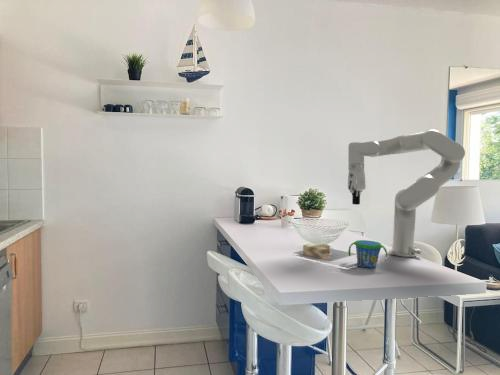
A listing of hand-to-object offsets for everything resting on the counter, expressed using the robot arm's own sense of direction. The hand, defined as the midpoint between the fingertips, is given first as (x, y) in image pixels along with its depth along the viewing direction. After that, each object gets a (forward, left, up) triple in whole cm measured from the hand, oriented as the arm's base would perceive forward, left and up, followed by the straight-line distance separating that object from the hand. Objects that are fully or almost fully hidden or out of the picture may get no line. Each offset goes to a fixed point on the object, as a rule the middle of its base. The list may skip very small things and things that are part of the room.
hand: (356, 204), depth 200 cm
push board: (+2, +22, -23) cm, 32 cm away
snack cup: (-21, +25, -23) cm, 40 cm away
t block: (+2, +27, -22) cm, 35 cm away
